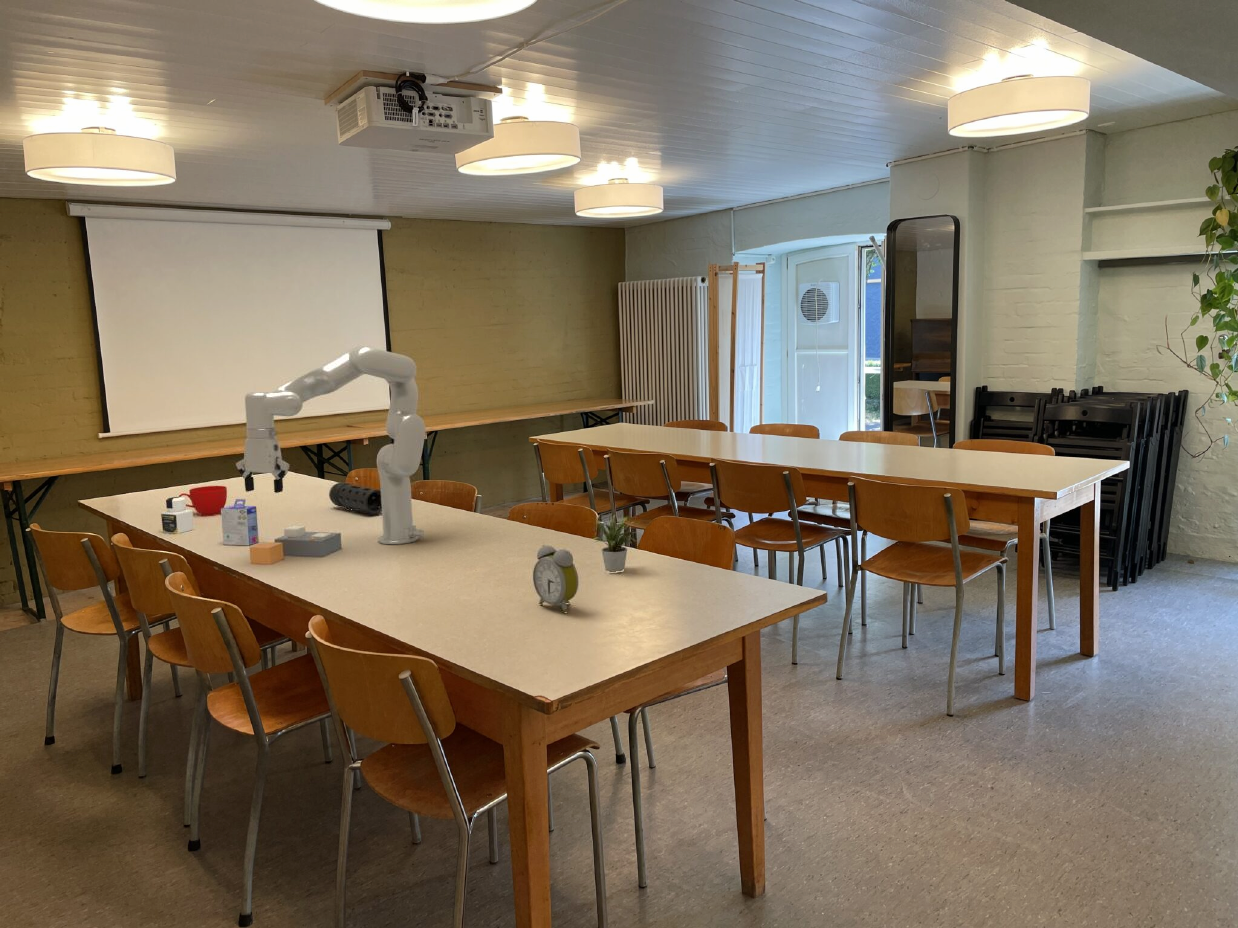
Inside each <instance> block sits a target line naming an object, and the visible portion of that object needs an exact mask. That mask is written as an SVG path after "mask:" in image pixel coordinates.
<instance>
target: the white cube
mask: <svg viewBox="0 0 1238 928" xmlns="http://www.w3.org/2000/svg"><path fill="white" fill-rule="evenodd" d="M283 532H284V535H285V537H293V538H298V537H301V536H303V535H306V534H305V532H306V526H303V525H302V526H301V525H298V526H297V525H292V526H289V527H286V528H284V529H283Z"/></svg>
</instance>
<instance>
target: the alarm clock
mask: <svg viewBox="0 0 1238 928" xmlns="http://www.w3.org/2000/svg"><path fill="white" fill-rule="evenodd" d="M536 559H537V561H536V563H535V565H534V567H533V570H532V580H533V585H534V589H535V591H536V593H537V595H538V596H539V598H540V599H539V603H538V605H539V604H542V605H543V604H544V603H546V604H548V605H559V604H560V606H561V608H562V610H563V612H567V613H568V607H567V604H566V603H569V604H570V600H572V599H573V598H574V597H575V595H577V592H578V589H579V575H578V571H577V568H576V566H575V564H574V557H573V554H572V552H571V551H570V550H567V549H565V548H564V549H558V550H557V549H555V547H553V546H551V545H545V544H543V545H542V546H541V547H540V548H539V549H538V550H537V553H536Z"/></svg>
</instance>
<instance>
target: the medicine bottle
mask: <svg viewBox="0 0 1238 928" xmlns="http://www.w3.org/2000/svg"><path fill="white" fill-rule="evenodd" d="M165 504H166V511H162V512H161V513H160V515H161V526H162V533H165V534H175V535H179V534H183V533H186V532H190V531H193V530H194V529H195V527H194V525H195V524H194V515H193V514H194V513H193V510H192V509H187V506H186V504H187V502H186V498H185V497H183V496H181V497H179V496H173V497H168V498H167V499H166V500H165Z"/></svg>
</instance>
